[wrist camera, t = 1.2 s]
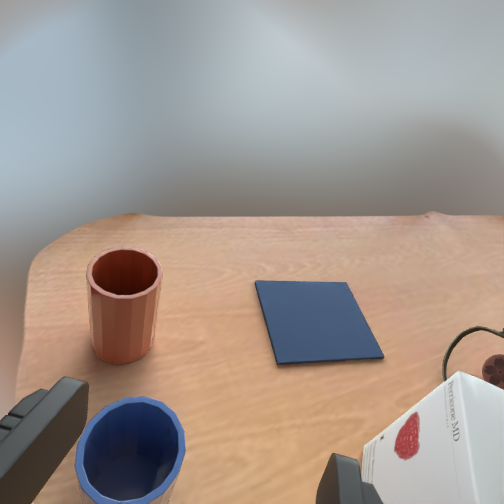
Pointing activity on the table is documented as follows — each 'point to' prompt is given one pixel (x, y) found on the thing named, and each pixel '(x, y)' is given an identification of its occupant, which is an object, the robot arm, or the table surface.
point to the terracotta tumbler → (123, 303)
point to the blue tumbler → (130, 453)
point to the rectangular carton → (442, 448)
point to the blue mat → (315, 322)
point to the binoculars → (495, 367)
